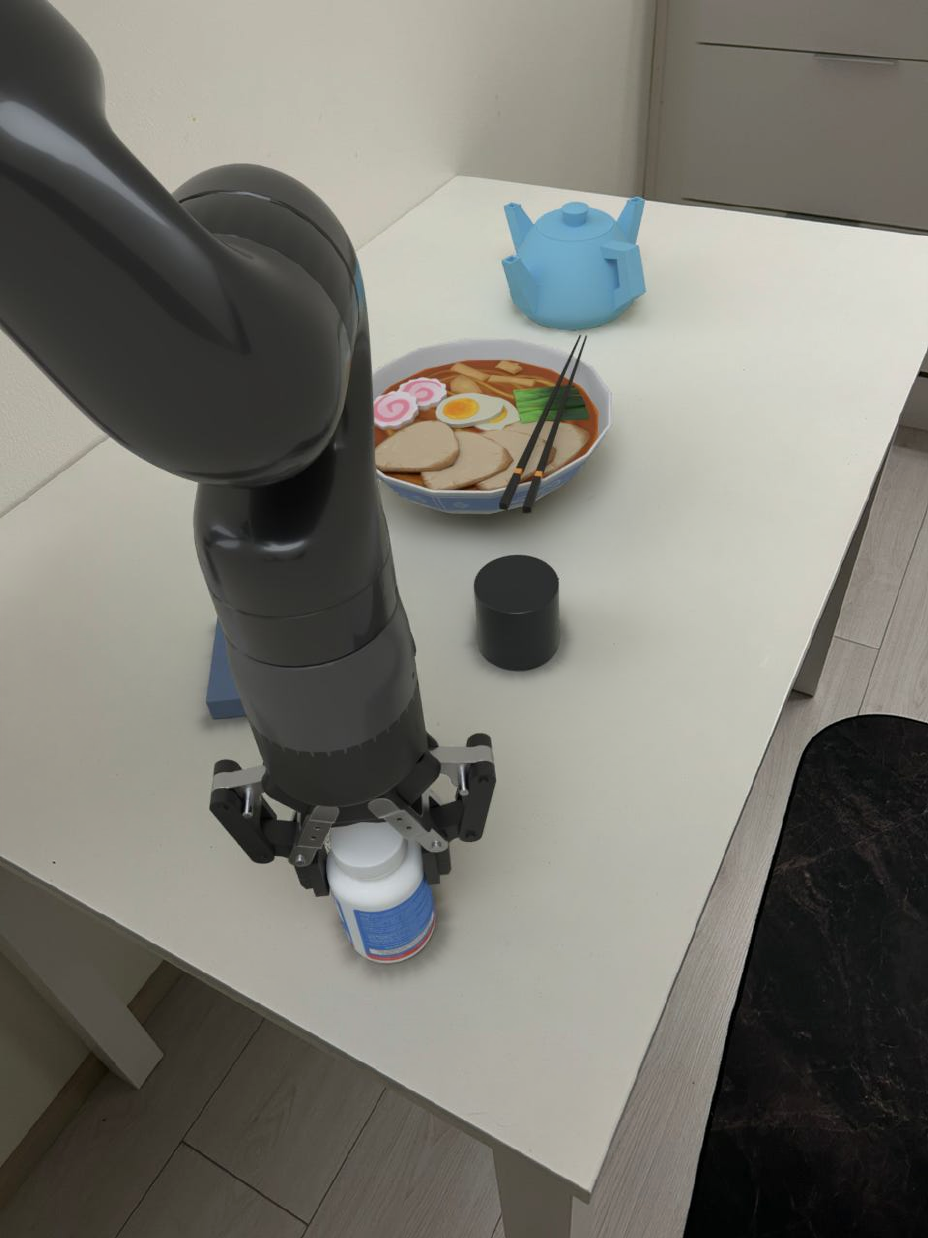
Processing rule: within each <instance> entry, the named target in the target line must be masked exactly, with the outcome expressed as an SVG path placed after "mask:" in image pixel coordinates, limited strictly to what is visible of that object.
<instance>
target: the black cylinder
mask: <svg viewBox="0 0 928 1238" xmlns="http://www.w3.org/2000/svg"><path fill="white" fill-rule="evenodd" d="M474 577H475V578H474V580H473V595H474V606H475V616H476V617H475V618H476V619H475V620H476V631H477V642H478V647H479V651H480V653H481V654H482V656H483V657H484V658H485V659H486V661H488V662H489V663H490V664H492V665H494V666H496V667H497V668H500V669H503V670H507V671H515V672H516V671H517V672H520V671H521V672H523V671H528V670H533V669H537V668H538V667H541V666H543V665H544V664H546V663H548V661H550V659H552V658H553V656H555V654H556V653H557V650H558V647H559V645H560V580H559V577H558V574H557V572H556V571H555V569H554V568H553V567H552V566H551V565H550V564H549V563H547V562H546V561H545V560H542V559H540V558H538V557H535V556H531V555H526V554H508V555H504V556H500V557H497V558H494V559H493V560H490V561H489V562H487V563H486V564H485V565H483V566H482V567H481V568H480V569H479V570H478V572H477V573H476V576H474Z"/></svg>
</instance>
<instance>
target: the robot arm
mask: <svg viewBox="0 0 928 1238" xmlns="http://www.w3.org/2000/svg"><path fill="white" fill-rule="evenodd" d="M105 83H106V82H105V76H104V72H103V68H102V65H101V63H100V61H99V59H98V57H97V55H96V53H95V52H94V50H93V48H92V47H91V46H90V45H89V42H88V41H87V40H86V39H85V38H84V37H83V36H82V34H81V33H80V32H79V31H78V29H77V28H76V27H75V26H73V24H71V22H70V21H69V20H68V19H67V18H66V17H65V16H64V15H63V14H62V13H61V12H60V11H59V10H58V9H57V8H56V7H55V6H54V5H53V4H52V3H51V2H50V1H49V0H0V331H1V332H2V333H3V334H4V335H5V336H6V337H7V338H9V340H10V341H11V342H12V343H13V344H14V345H15V346H16V347H17V348H18V349H19V350H20V351H21V352H22V353H23V354H24V356H25V357H26V358H27V359H28V360H29V361H30V362H31V363H32V364H33V365H34V366H36V368H37V369H38V370H39V371H40V372H41V373H42V374H43V375H44V376H45V377H46V379H48V380H49V381H50V382H51V383H52V384H53V385H54V386H55V387H56V389H57V390H58V391H59V392H60V393H61V394H62V395H64V397H65V398H66V399H68V401H69V402H70V403H71V404H72V405H73V406H74V407H75V408H76V409H77V410H78V411H80V412H81V414H83V415H84V416H85V417H86V419H88V420H89V421H90V422H91V423H92V424H93V425H94V426H96V427H97V428H98V429H100V430H101V431H102V432H103V433H104V434H106V436H108V437H109V438H111V439H112V440H113V441H114V442H115V443H117V444H118V445H120V446H121V447H122V448H123V449H126V450H127V451H129V452H130V453H132V454H133V455H135V456H137V457H138V458H140V459H141V460H143V461H145V462H146V463H148V464H150V465H152V466H153V467H156V468H158V469H161V470H162V471H164V472H167V473H169V474H171V475H174V476H176V477H178V478H182V479H184V480H188V481H191V482H195V483H197V486H196V493H195V499H194V506H193V517H192V525H193V538H194V539H193V540H194V546H195V547H194V548H195V551H196V556H197V560H198V563H199V566H200V567H199V568H200V570H201V572H202V575H203V579H204V581H205V585H206V588H207V590H208V593H209V595H210V599H211V601H212V604H213V607H214V610H215V612H216V615H217V616H218V618H219V621H220V624H221V627H222V630H223V633H224V637H225V643H226V651H227V657H228V662H229V666H230V670H231V673H232V677H233V680H234V683H235V685H236V688H237V691H238V693H239V696H240V699H241V702H242V705H243V707H244V710H245V713H246V716H245V717H246V718H247V721H248V724H249V727H250V729H251V732H252V735H253V737H254V740H255V743H256V746H257V748H258V751H259V755H260V758H261V759H262V764H261V765H256V766H252V767H248V768H242V766H241V765H240V764H239V762H237V761H236V760H233V759H226V758H223V759H220V760H218V761H216V762H214V766H213V773H212V782H211V790H210V797H209V798H210V799H209V807H208V810H209V811H210V813H212V814H213V816H214V818H216V820H217V821H218V823H220V824H221V826H222V827H223V828H224V829H225V831H226V832H227V833H228V834H229V835H230V836H231V838H232V839H233V840H234V841H235V843H237V845H238V846H239V847H240V848H241V850H242V851H243V852H244V853H245V854H246V855H247V856H248V858H249V859H250V860H251V861H252V863H255V864H258V865H260V864H261V865H266V864H267V865H268V864H270V863H272V862H273V861H274V860H275V858H276V857H281V858H286V859H287V861H288V864H290V865H291V866H293V868H294V871H295V874H296V876H297V878H298V881H299V884H300V886H301V887H303V888H304V889H305V890H311V889H312V890H313V894H314V896H315V897H316V898H321V897H329V896H330V892H331V889H330V886H329V883H328V879H327V875H326V859H327V855H328V852H327V849H326V846H325V841H326V839H327V837H328V835H329V833H330V830H331V828H334V827H343V826H349V825H352V824H356V823H360V822H369V823H381V822H388V823H389V824H390V825H391V826H392V827H393V828H394V829H395V830H396V831H398V832H399V833H400V834H401V835H402V836H403V837H404V838H405V839H407V840H409V839H412V838H414V839H415V840H416V841H417V842H419V843H420V844H421V852H422V858H423V864H424V869H425V874H426V880H427V885H430V886H435V885H441V876H447V875H450V872H451V871H452V860H451V848H450V847H451V846H450V843H451V842H452V841H453V840H456V839H459V841H461V842H464V843H475V842H478V841H480V840H481V839H482V838H483V835H484V831H485V828H486V823H487V819H488V815H489V812H490V808H491V803H492V800H493V796H494V792H495V788H496V784H497V776H496V766H495V757H494V750H493V743H492V737H491V736H490V735H489V734H487V733H482V732H478V733H474V734H471V735H470V736H468V737H467V739H466V744H465V746H440V745H439V743H438V741H437V739H436V738H434V737H433V736H432V735H431V734H430V733H429V732H428V731H427V727H426V722H425V721H426V720H425V716H424V709H423V703H422V697H421V696H422V695H421V690H420V683H419V675H418V671H417V662H416V656H417V646H416V643H415V639H414V636H413V633H412V631H411V626H410V622H409V618H408V614H407V612H406V611H407V610H406V609H405V606H404V604H403V601H402V598H401V594H400V591H399V586H398V580H397V575H396V574H397V573H396V568H395V567H396V566H395V561H394V554H393V548H392V543H391V537H390V531H389V526H388V521H387V517H386V513H385V509H384V506H383V502H382V497H381V491H380V486H379V485H380V484H379V478H377V470H376V462H375V427H374V403H373V381H372V373H373V368H372V367H373V362H372V347H371V346H372V345H371V335H370V334H371V333H370V323H369V322H370V321H369V312H368V304H367V297H366V289H365V284H364V279H363V275H362V274H363V273H362V270H361V266H360V261H359V259H358V256H357V253H356V250H355V247H354V245H353V243H352V240H351V238H350V237H349V234H348V233H347V231H346V229H345V227H344V226H343V224H342V222H341V220H339V218H338V216H337V215H336V214H335V212H334V211H333V210H332V209H331V208H330V206H329V205H328V204H327V203H326V202H325V200H323V199H322V198H321V197H320V196H319V195H318V194H317V193H316V192H314V191H313V190H312V189H311V188H310V187H309V186H307V185H305V184H304V183H303V182H302V181H299V180H298V179H297V178H295V177H293V176H291V175H289V174H287V173H285V172H283V171H280V170H278V169H276V168H275V169H274V168H272V167H268V166H264V165H261V164H256V163H245V162H244V163H242V162H239V163H235V162H234V163H229V164H227V163H226V164H222V165H219V166H218V165H217V166H214V167H211V168H208V169H206V170H203V171H201V172H199V173H197V174H195V175H193V176H192V177H190V178H188V179H187V180H186V181H185V182H183V183H182V184H181V185H180V186H179V187H177V188H176V189H175V190H174V191H173V192H169V190H168V189H167V188H166V187H165V186H164V185H163V184H162V183H161V181H159V180H158V178H157V177H155V175H154V174H153V173H152V172H151V171H150V170H149V169H148V168H147V167H146V166H145V165H144V163H143V162H142V161H140V159H139V158H138V157H137V156H136V155H135V154H134V153H133V152H132V151H131V150H130V148H129V147H128V146H127V145H126V144H125V143H124V142H123V141H122V140H121V139H120V137H119V136H118V135H117V134H116V133H115V132H114V130H113V128H112V126H111V125H110V122H109V120H108V117H107V113H106V84H105ZM440 775H446V776H448V777H449V779H450V784H451V785H452V786H453V787H456V791H455V794H454V795H455V796H454V797H455V800H453V801H449V802H447V803H445V802H444V801H443V800H442V799H441V798H440V797H439V796H438V795H437V794H436V793H435V792H434V791H433V790H432V789H431V786H432V785H433V784H434V783H435V782H436V781H437V780H438V778H439V777H440ZM263 794H265V795H266V796H268V797H269V798H270V799H272V800H274V801H276V802H277V803H280V804H282V805H283V806H285V807H288V808H289V809H291V810H293V811H292V814H291V817H290V820H284V819H278V814H277V813H276V812H275V810H274V809H273V808H272V807H271V805H270V804H269V803H268V802H267V800H266V798H264V796H263Z"/></svg>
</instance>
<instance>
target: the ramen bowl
mask: <svg viewBox="0 0 928 1238" xmlns="http://www.w3.org/2000/svg"><path fill="white" fill-rule="evenodd" d="M581 337H582V334H579V335H578V337H577V339H576V342H575V343H574V345H573V348H572V350H571V352H570V353H568V352H566V351H564V350H563V349H561V348H558V347H555V346H551V345H547V344H543V343H538V342H533V341H528V340H525V339H519V338H516V337H479V338H478V337H474V338H473V337H469V338H467V337H465V338H460V339H456V340H451V341H446V342H441V343H437V344H431V345H426V346H422V347H418V348H416V349H413V350H411V351H409V352H407V353H405V354H403V355H401V356H399V357H397V358H395V359H392V360H390V361H389V362H386V363H384V364H383V365H380V366H378V367H377V368H376V369H374V371H372V381H373V403H374V427H375V462H376V470H377V478H378V480H380V481H381V482H382V483H384V484H385V485H386V486H387V487H389V488H390V489H391V490H393V491H394V492H396V493H397V494H398V496H400V497H402V498H404V499H406V500H407V501H409V502H411V503H414V504H417V505H419V506H423V507H426V508H429V509H433V510H436V511H438V512H439V511H440V512H442V513H445V514H457V515H458V514H460V515H461V514H462V515H465V514H466V515H492V514H495V513H496V514H497V513H500V512H505V511H509V510H513V509H519V508H521V507H522V514H529V515H531V514H532V511H533V508H534V506H535V502H537V501H538V500H540V499H542V498H543V497H545V496H548V494H550V493H552V492H554V491H556V490H558V489H559V488H560V487H562V486H563V485H565V484H566V483H567V482H569V481H570V480H571V479H572V478H573V477H574V476H575V475H576V474H577V473H578V472H580V470H581V469H582V467H583V466H584V465H585V463H586V462H587V461H588V460H589V458H590V457H591V455H593V453H594V451H595V450H596V449H597V448H598V446H599V445H600V444H601V442H602V441H603V440H604V438H605V436H606V435H607V434H608V432H609V430H610V429H611V427H612V426H613V393H612V392H611V390H610V389H609V387H608V386H607V385H606V383H605V382H604V380H603V379H602V378H601V376H600V375H599V373H598V372H597V371H596V369H595V368H594V366H592V365H590V364H588V363H586V362H585V361H583V360H581V357H582V354H583V351H584V347H585V344H586V341H587V338H588V335H585V336H584V339H583V341H582V344H581V347H580V350H579V352H578V355H577V357H575V356H574V354H575V352H576V349H577V347H578V345H579V342H580V340H581Z"/></svg>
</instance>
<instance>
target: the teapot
mask: <svg viewBox="0 0 928 1238" xmlns="http://www.w3.org/2000/svg"><path fill="white" fill-rule="evenodd" d="M645 204H646V199H645V198H642V197H640V196H634V197H632V198H629V199H626V203H625V205H624V207H623V209H622V210H621V212H620V214H619V216H618V218H617V220H615V218H614V217H613V216H612V215H610V213H608V212H606V211H604V210H602V209H599V208H596V207H595V208H594V207H590V206H589V204H587V203H584V202H583V201H582V202H581V201H570V202H567V203H564V204H563V205H562V206H561V208H556V209H553V210H551V211H550V210H549V211H548V212H546V213H544V214H542V215H541V216H540V217H538V218H537V219H536V221H535V222H534V223H533V221H532V220H531V218H530V217H529V215H528V213H526V211H525V210H524V208H523V207H522V204H520V203H516V202H513V201H512V202H509V203H507V204H505V205H503V210H504V215H505V217H506V218H505V219H506V221H507V225H508V229H509V233H510V235H511V240H512V244H513V246H514V250H515V254H516V255H515V254H510V255H509V256H506V257H505V258H503V259H501V265H502V268H503V272H504V275H505V279H506V282H507V285H508V289H509V294H510V297H511V300H512V303H513V304H514V305H515V306H516V307H517V308H518V309H519V310H520V311H521V313H522V314H524V315H525V316H526V317H527V318H529V320H531V321H532V322H534V323H536V324H538V325H540V326H543V327H546V328H549V329H554V330H560V331H561V330H562V331H581V330H589V329H594V328H598V327H601V326H604V325H607V324H608V323H609V324H610V322H613V321H615V320H616V319H617V318H619V317H620V316H621V315H622V314H624V312H625V311H626V310H627V309H628V308H629V307H630V306H631V305H632V304H633V303H634V302H635V300H637V299H638V298H640V297H641V296H642V295H644V294H646V293H647V288H646V281H645V275H644V268H643V263H642V256H641V249H640V246H639V244H636V243H637V240H638V235H639V230H640V226H641V222H642V218H643V213H644V208H645Z"/></svg>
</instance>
